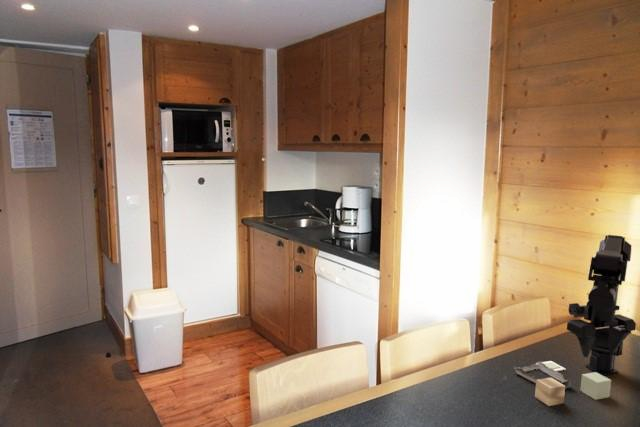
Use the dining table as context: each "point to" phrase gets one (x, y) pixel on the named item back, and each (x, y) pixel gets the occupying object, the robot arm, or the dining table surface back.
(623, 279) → the robot arm
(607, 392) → the sage block
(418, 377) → the dining table surface
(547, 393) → the honey block
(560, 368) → the card
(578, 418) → the dining table surface
